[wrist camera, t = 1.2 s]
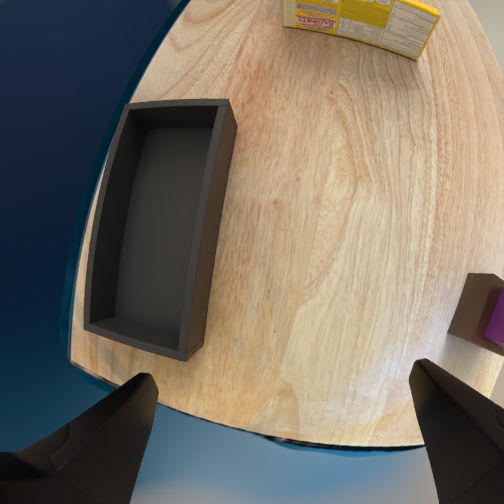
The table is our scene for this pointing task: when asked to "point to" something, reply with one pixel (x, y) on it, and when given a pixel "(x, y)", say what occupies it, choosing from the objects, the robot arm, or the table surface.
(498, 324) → the purple block
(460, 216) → the table surface
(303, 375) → the table surface
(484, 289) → the walnut block
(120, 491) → the robot arm
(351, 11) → the candy box
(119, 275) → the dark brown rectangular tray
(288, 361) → the table surface
